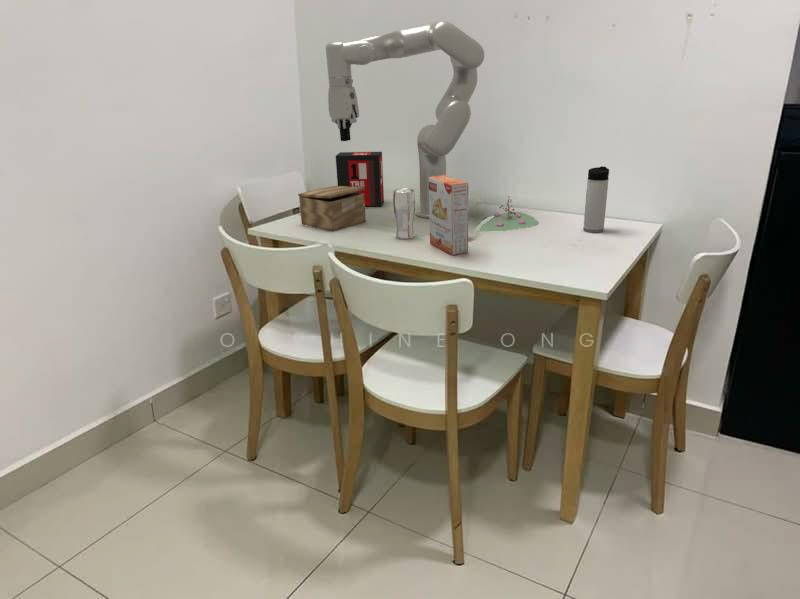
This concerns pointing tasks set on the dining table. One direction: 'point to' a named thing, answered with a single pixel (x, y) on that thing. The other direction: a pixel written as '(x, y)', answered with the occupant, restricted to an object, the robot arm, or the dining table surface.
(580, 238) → the dining table surface
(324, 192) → the lid
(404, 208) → the beer glass
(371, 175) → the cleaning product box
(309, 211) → the box
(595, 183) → the travel mug
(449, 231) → the cracker box
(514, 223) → the plant
